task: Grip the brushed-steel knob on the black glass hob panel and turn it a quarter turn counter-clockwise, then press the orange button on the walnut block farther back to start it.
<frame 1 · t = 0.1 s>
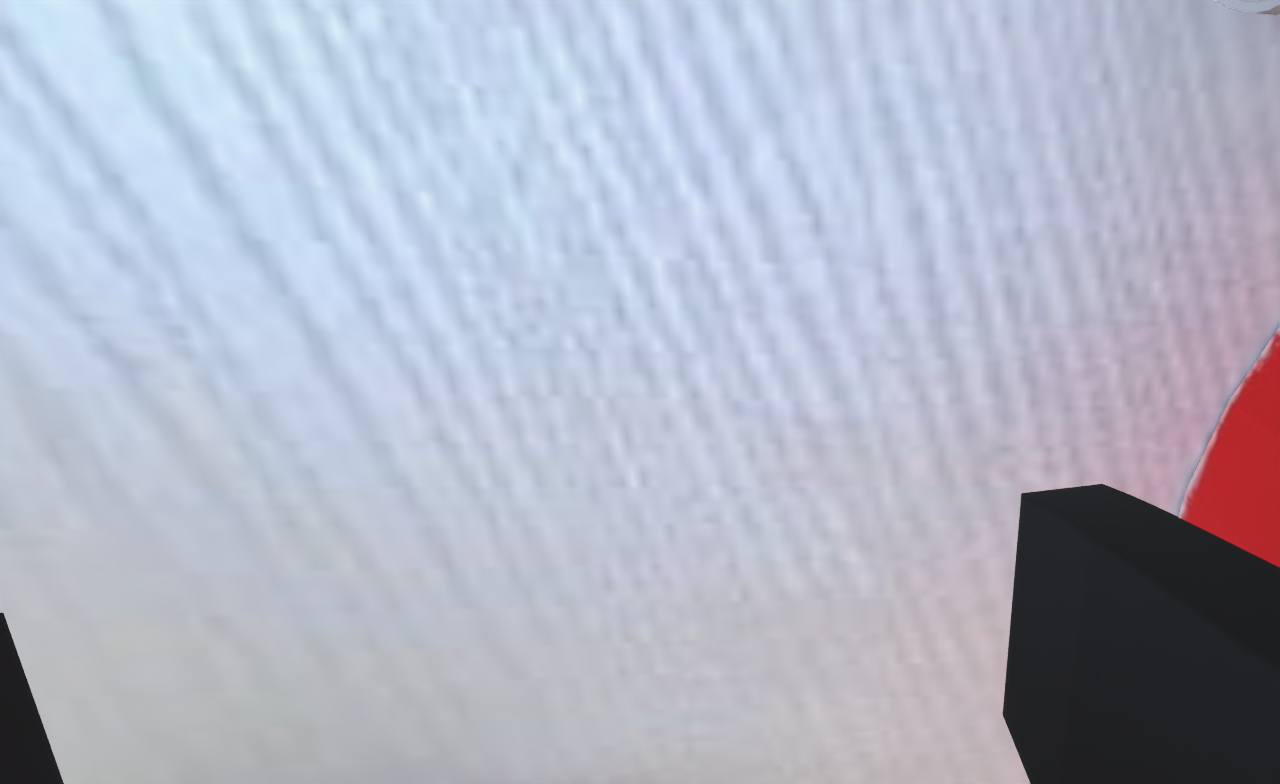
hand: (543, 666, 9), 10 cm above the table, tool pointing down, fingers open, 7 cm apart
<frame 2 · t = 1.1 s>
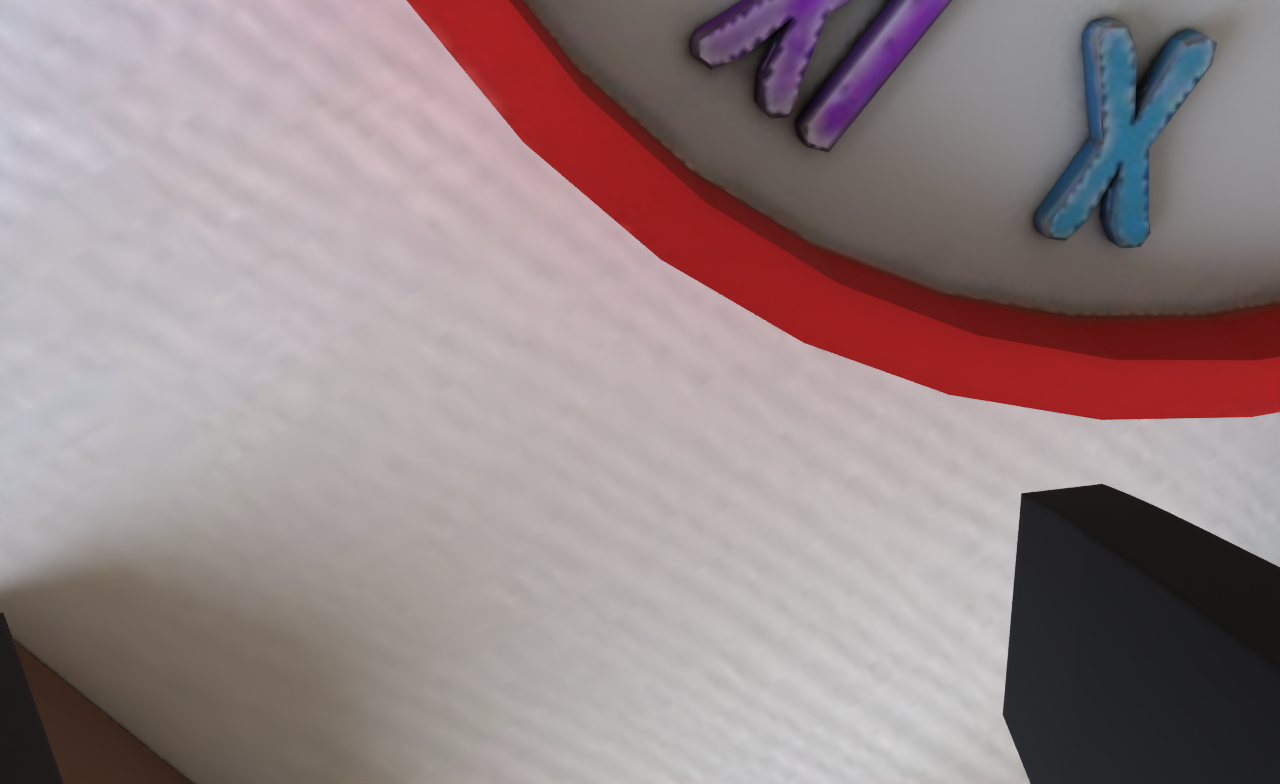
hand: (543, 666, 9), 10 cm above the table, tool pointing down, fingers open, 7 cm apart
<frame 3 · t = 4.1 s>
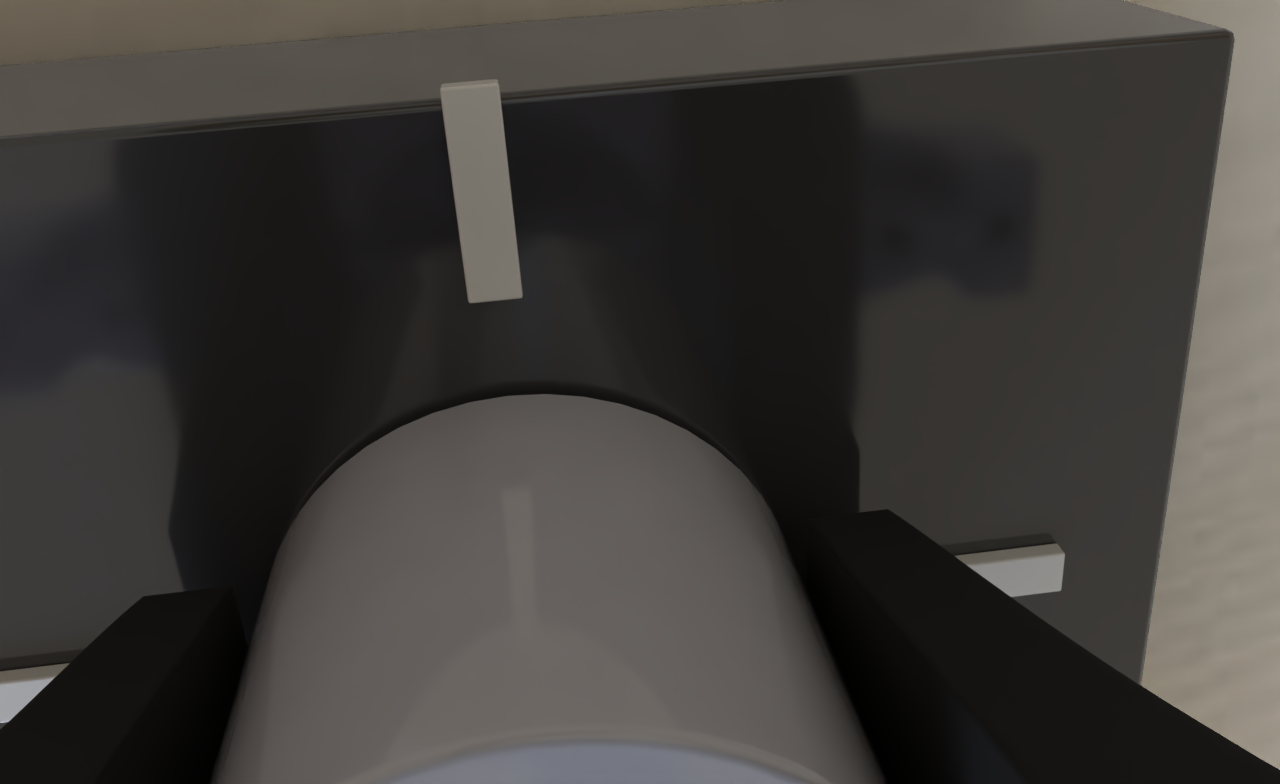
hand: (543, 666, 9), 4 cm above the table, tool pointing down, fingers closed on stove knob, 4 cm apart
hob panel: (524, 443, 12), on the table
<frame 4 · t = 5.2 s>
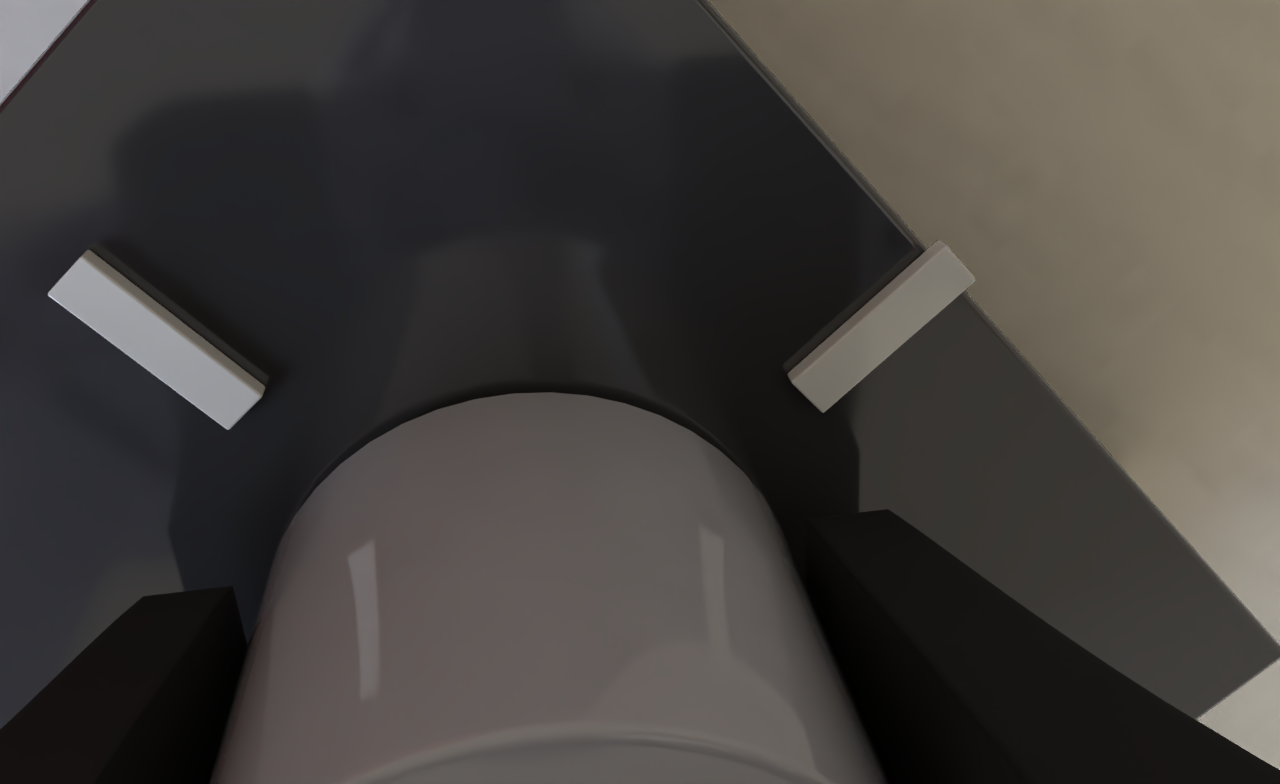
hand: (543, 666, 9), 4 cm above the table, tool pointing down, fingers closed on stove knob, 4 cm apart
hob panel: (524, 442, 12), on the table
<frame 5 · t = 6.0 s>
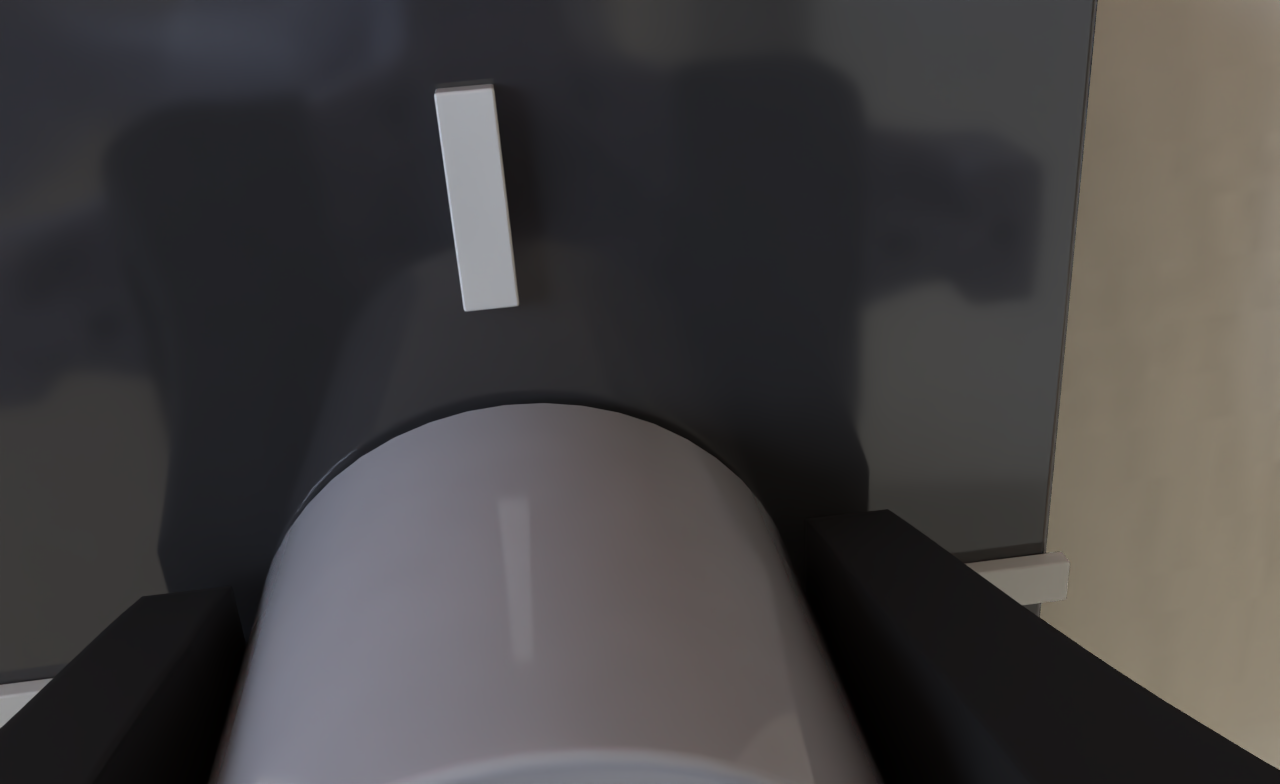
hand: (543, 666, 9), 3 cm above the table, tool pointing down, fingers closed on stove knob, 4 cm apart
hob panel: (522, 450, 12), on the table
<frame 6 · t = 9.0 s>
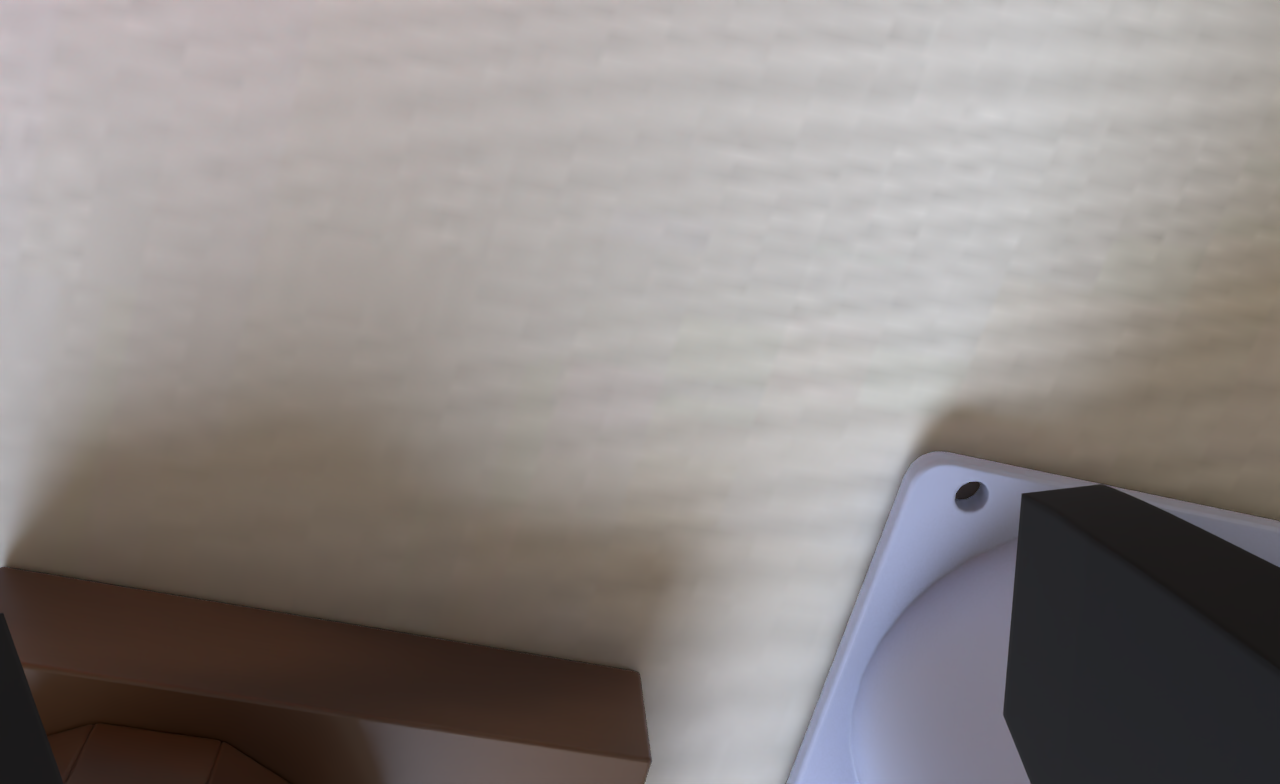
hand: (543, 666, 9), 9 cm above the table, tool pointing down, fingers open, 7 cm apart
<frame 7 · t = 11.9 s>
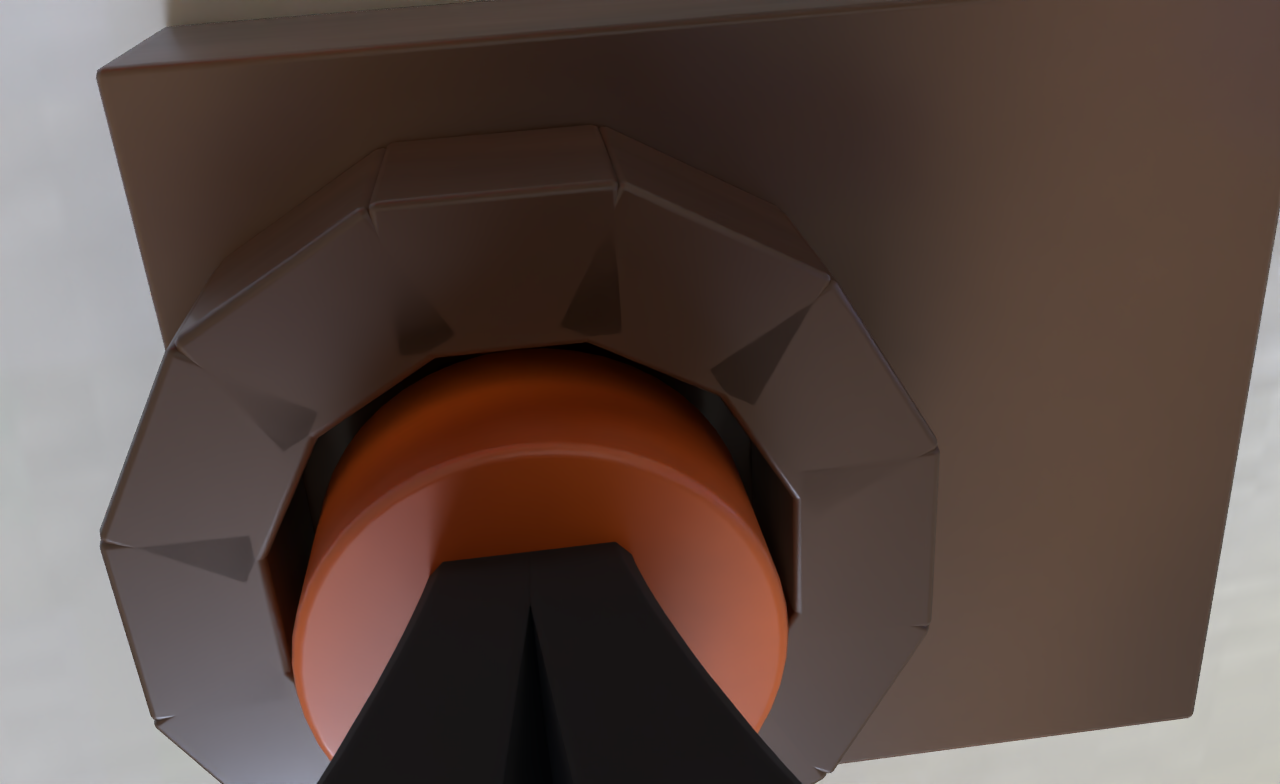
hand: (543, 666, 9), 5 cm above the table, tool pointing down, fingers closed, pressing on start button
button block: (706, 361, 13), on the table
start button: (541, 597, 9), point 4 cm above the table, slide at -0.3 cm, touching gripper
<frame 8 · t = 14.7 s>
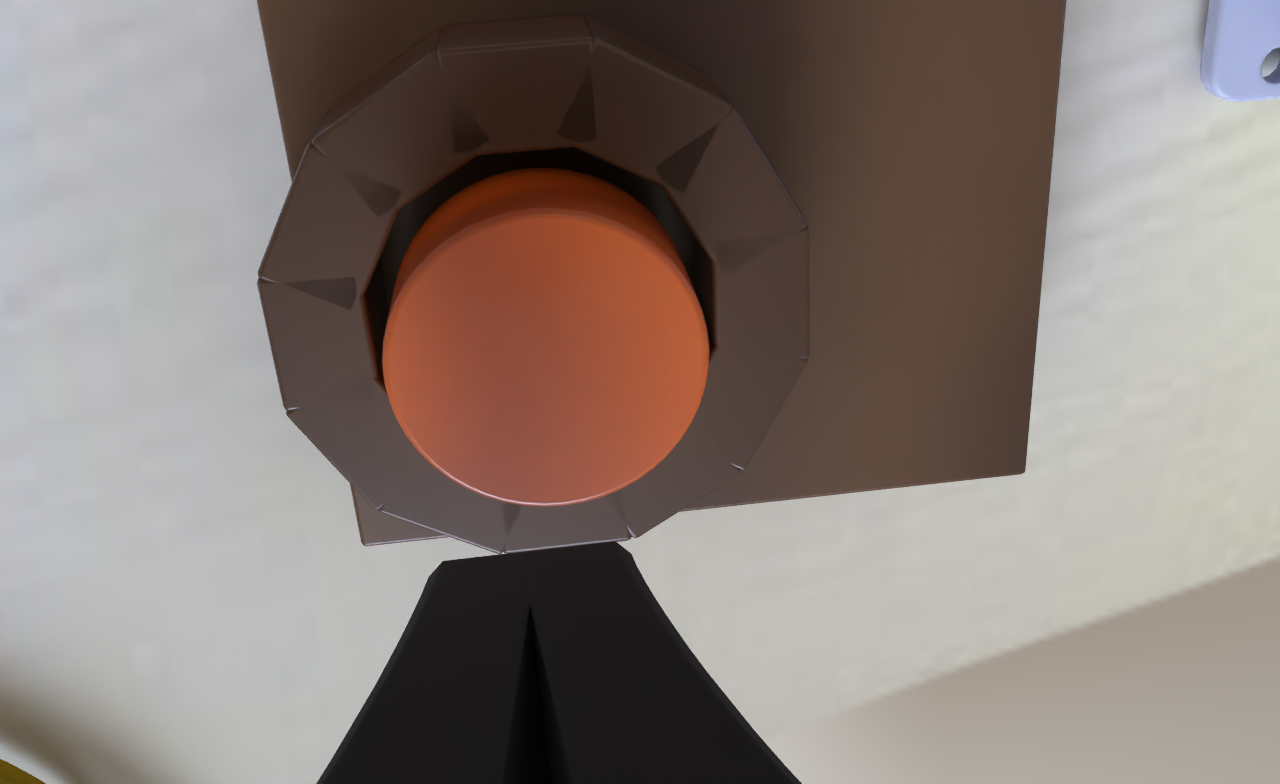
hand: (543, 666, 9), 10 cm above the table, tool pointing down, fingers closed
button block: (667, 209, 18), on the table
start button: (545, 337, 14), point 4 cm above the table, slide at 0.1 cm
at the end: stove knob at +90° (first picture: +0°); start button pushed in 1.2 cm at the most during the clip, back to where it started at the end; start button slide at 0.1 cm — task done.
